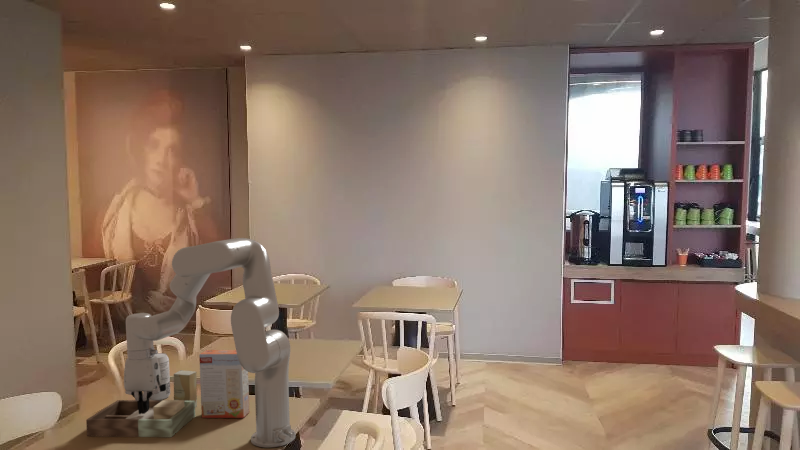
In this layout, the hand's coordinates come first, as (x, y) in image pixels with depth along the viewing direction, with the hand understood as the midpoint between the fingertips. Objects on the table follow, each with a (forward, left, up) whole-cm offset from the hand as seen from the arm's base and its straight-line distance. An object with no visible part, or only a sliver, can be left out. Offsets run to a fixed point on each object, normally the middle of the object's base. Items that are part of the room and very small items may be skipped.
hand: (143, 412), depth 185 cm
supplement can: (+23, -14, -5) cm, 27 cm away
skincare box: (+5, -16, -5) cm, 17 cm away
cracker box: (-11, -22, -5) cm, 25 cm away
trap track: (0, 0, -4) cm, 4 cm away
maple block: (-6, -5, -1) cm, 8 cm away
